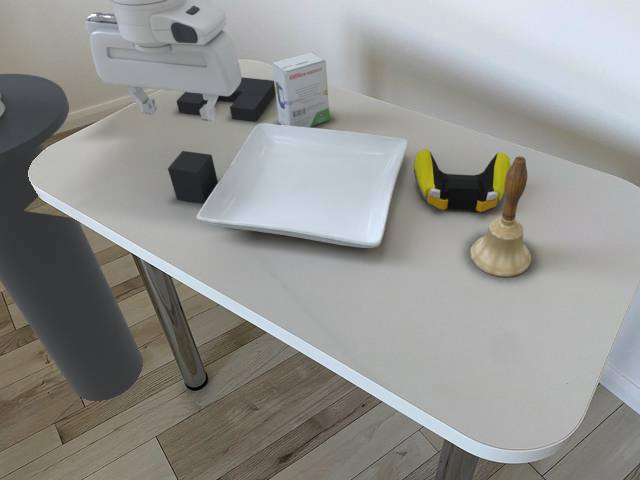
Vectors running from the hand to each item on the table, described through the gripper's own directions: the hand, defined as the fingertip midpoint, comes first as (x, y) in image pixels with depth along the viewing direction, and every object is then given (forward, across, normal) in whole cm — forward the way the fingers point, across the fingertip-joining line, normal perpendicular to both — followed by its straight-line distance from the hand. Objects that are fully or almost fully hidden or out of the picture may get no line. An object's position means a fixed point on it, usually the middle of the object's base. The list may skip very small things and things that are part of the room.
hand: (179, 115), depth 80 cm
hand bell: (+14, +48, -4) cm, 50 cm away
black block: (+14, 0, 0) cm, 14 cm away
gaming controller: (+14, +41, +9) cm, 44 cm away
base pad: (+14, -7, +29) cm, 33 cm away
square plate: (+14, +18, +4) cm, 23 cm away
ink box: (+14, +10, +25) cm, 30 cm away
